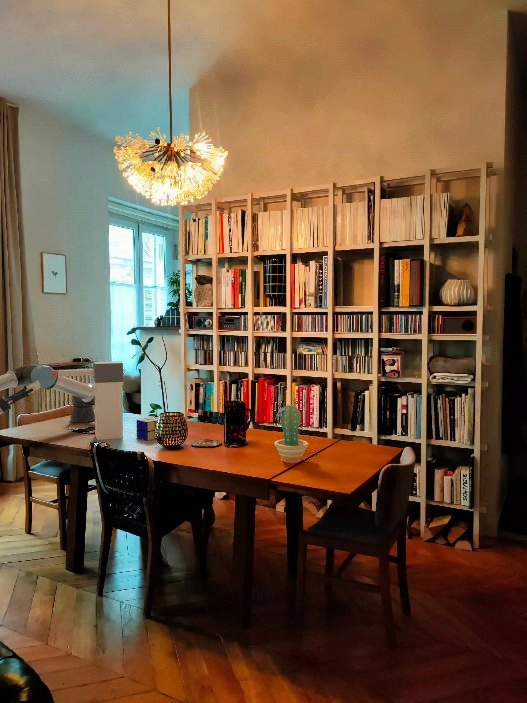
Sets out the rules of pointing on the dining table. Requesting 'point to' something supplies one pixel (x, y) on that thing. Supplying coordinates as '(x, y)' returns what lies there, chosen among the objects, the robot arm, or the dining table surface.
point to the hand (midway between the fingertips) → (39, 383)
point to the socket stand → (108, 400)
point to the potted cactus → (290, 435)
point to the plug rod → (73, 372)
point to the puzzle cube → (146, 428)
